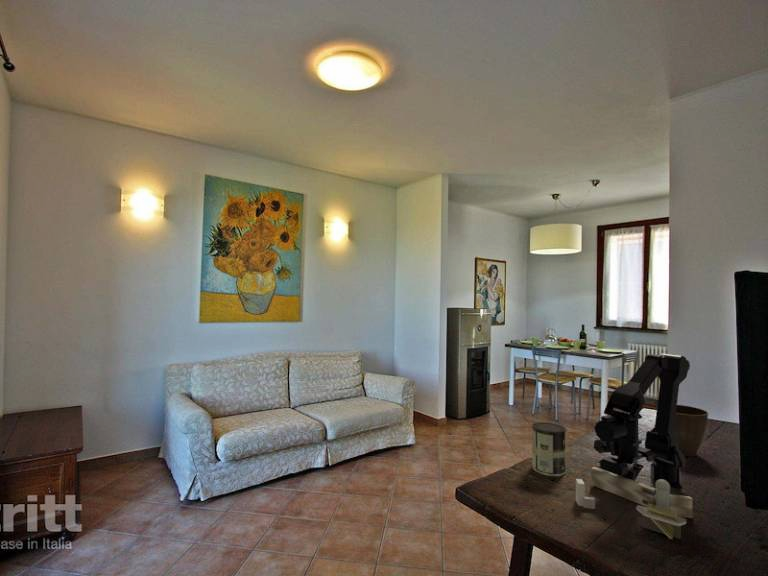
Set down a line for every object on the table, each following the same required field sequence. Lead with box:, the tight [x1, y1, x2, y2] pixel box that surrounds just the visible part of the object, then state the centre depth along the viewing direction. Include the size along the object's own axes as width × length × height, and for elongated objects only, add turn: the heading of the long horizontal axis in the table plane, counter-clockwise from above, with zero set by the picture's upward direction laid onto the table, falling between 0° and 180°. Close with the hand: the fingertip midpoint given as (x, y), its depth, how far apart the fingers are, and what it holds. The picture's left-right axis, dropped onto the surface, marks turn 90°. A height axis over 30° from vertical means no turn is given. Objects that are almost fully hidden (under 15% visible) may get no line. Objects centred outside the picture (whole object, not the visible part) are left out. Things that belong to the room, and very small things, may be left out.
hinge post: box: [655, 479, 671, 512], centre depth 105 cm, size 3×3×9 cm
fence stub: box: [670, 493, 694, 519], centre depth 104 cm, size 5×1×5 cm, turn 76°
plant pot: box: [674, 404, 709, 457], centre depth 148 cm, size 15×15×16 cm
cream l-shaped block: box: [575, 478, 596, 510], centre depth 109 cm, size 4×4×6 cm
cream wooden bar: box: [590, 466, 656, 508], centre depth 114 cm, size 17×2×5 cm, turn 34°
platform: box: [635, 504, 687, 540], centre depth 96 cm, size 12×18×7 cm, turn 51°
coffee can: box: [531, 421, 567, 477], centre depth 132 cm, size 10×10×14 cm
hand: (627, 488), depth 115 cm, fingers closed
